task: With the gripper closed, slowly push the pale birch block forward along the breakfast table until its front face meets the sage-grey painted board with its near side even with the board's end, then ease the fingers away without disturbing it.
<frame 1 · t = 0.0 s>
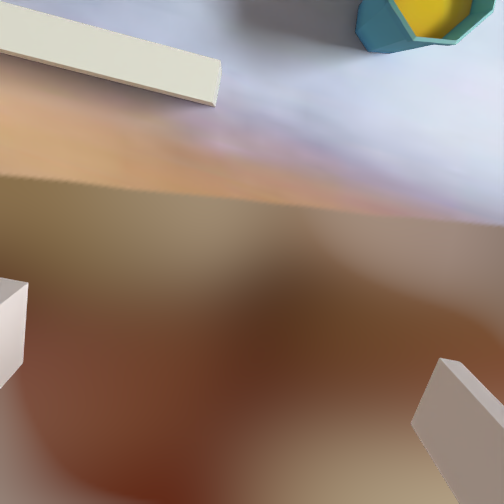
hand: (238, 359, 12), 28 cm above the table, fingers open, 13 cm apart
cup: (392, 19, 35), on the table
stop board: (108, 61, 34), on the table
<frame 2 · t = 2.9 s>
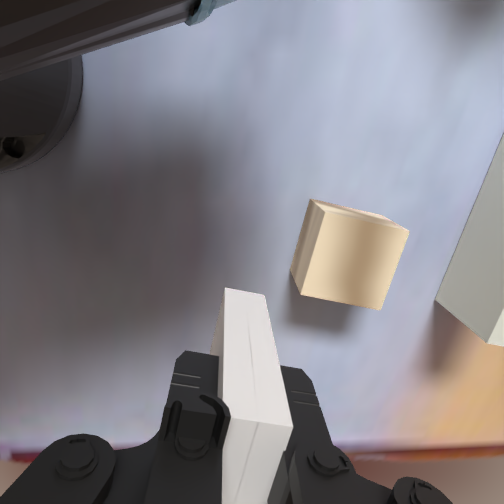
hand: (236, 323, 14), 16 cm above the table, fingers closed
birch block: (334, 242, 31), on the table
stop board: (499, 189, 30), on the table
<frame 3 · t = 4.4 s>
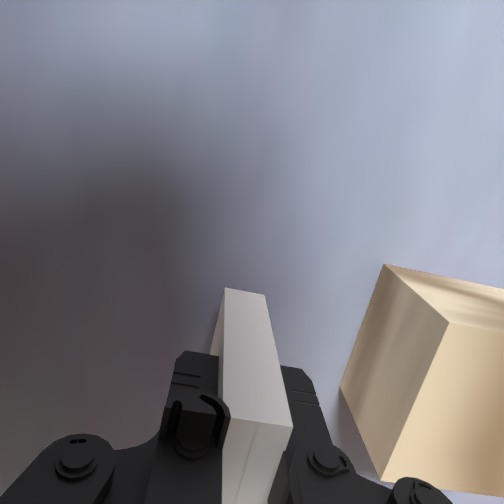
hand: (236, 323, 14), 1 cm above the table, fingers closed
birch block: (423, 338, 17), on the table
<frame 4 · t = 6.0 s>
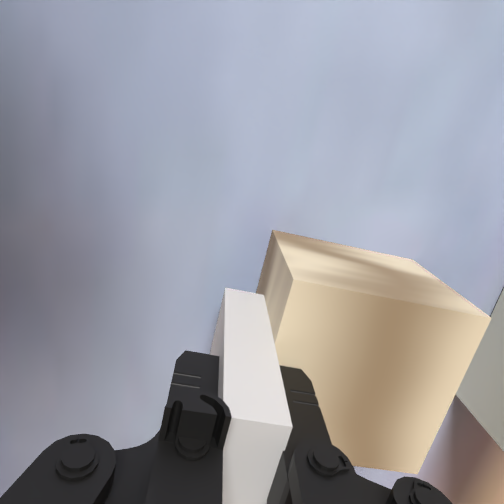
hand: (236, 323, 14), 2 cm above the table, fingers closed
birch block: (323, 310, 16), on the table, touching gripper
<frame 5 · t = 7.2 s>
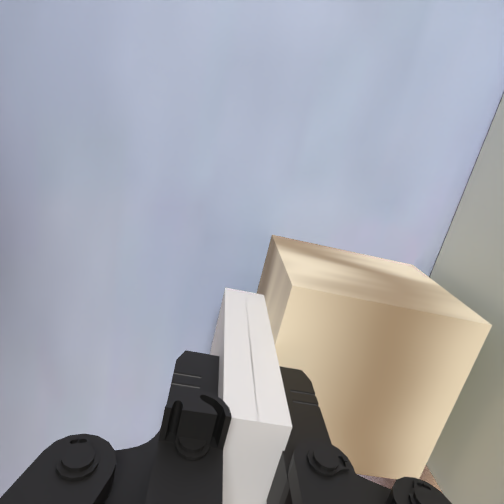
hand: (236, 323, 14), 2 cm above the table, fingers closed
birch block: (322, 316, 16), on the table, touching gripper
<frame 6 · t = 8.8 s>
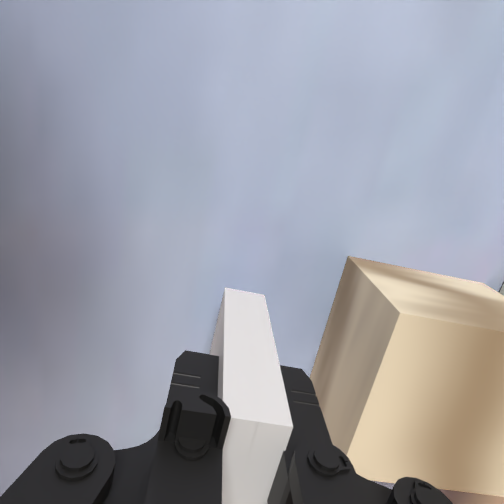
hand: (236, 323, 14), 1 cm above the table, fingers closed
birch block: (392, 332, 17), on the table
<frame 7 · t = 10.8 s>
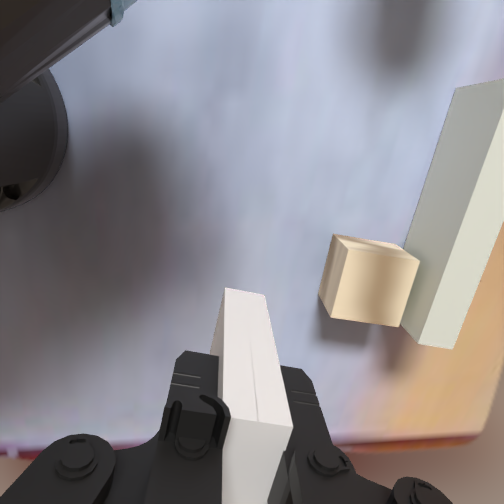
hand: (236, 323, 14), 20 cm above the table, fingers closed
birch block: (355, 268, 36), on the table
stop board: (432, 209, 35), on the table
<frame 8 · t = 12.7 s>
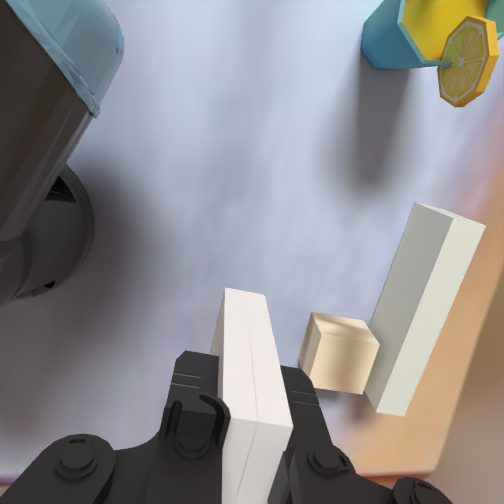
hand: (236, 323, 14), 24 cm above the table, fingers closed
cup: (386, 28, 34), on the table
birch block: (330, 339, 43), on the table
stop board: (394, 294, 42), on the table
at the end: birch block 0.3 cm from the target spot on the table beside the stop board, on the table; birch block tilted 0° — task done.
